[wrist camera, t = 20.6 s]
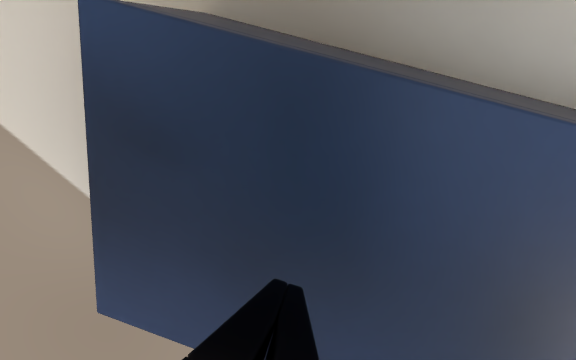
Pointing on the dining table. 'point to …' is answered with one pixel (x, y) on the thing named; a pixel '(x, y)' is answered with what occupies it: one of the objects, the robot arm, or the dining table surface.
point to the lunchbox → (373, 62)
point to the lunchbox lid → (321, 196)
